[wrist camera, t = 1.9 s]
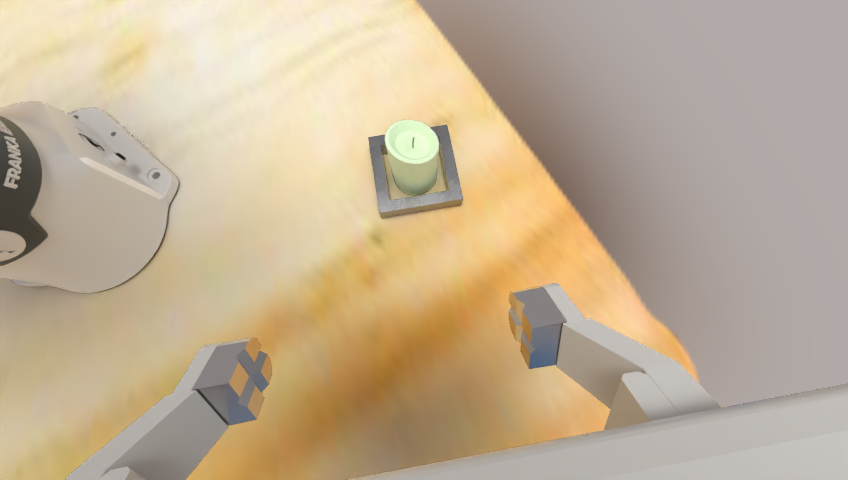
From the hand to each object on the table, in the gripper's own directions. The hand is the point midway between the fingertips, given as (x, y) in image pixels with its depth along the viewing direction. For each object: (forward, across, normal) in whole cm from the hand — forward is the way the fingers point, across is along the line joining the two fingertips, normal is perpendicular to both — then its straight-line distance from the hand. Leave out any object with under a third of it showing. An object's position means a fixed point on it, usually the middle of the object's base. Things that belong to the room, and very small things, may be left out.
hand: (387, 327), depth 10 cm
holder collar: (+27, -3, +5) cm, 28 cm away
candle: (+28, -3, +5) cm, 28 cm away
